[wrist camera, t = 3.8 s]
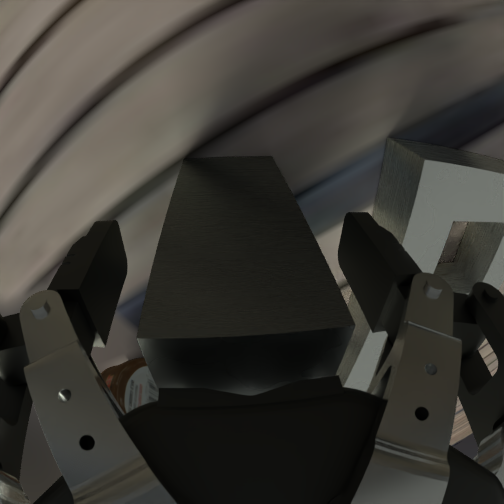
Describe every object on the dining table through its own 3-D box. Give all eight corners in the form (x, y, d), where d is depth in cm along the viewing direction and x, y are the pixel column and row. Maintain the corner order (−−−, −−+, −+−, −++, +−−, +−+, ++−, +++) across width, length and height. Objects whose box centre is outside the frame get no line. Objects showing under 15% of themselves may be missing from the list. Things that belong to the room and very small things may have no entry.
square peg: (189, 234, 14) (175, 424, 7) (183, 158, 12) (136, 338, 4) (267, 231, 14) (317, 414, 7) (271, 156, 12) (355, 325, 5)
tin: (99, 343, 18) (75, 459, 11) (131, 328, 17) (110, 458, 10) (221, 422, 26) (227, 501, 19) (249, 414, 26) (259, 497, 19)
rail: (310, 407, 26) (317, 434, 23) (387, 137, 12) (424, 159, 10) (400, 388, 27) (410, 411, 24) (510, 162, 13) (543, 184, 10)
